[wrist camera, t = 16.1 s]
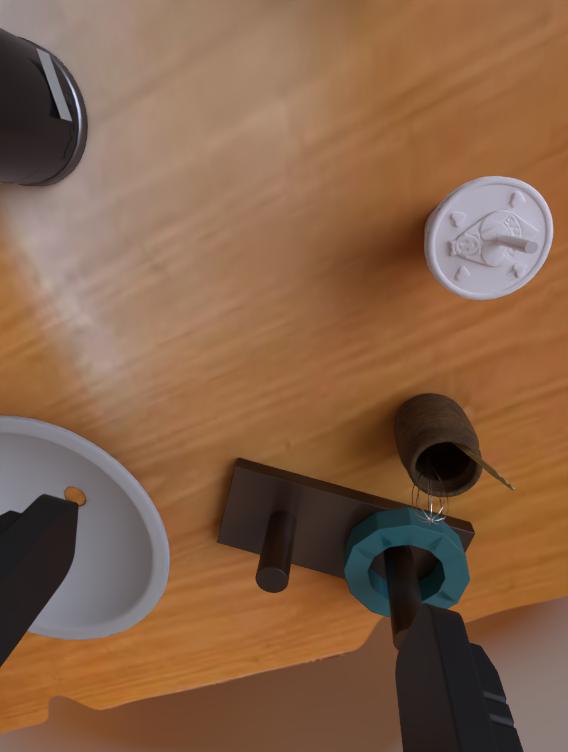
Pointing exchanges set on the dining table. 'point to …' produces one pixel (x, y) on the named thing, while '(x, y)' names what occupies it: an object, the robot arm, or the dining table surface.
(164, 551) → the vessel sink basin
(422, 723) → the robot arm
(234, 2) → the dining table surface
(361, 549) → the teal faceted ring
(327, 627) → the dining table surface
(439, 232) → the smoothie
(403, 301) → the dining table surface
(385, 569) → the rack
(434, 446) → the utensil holder
